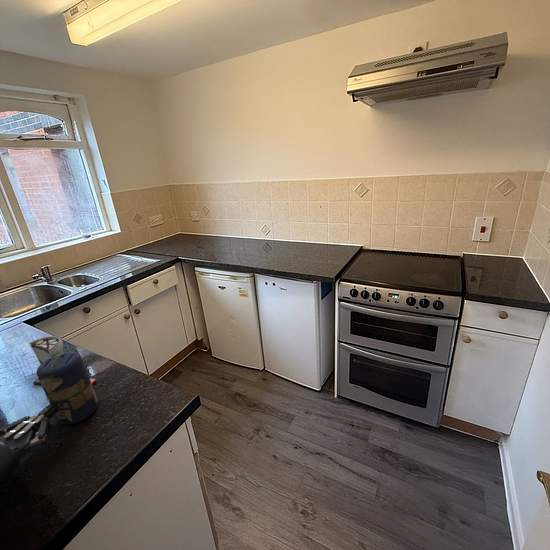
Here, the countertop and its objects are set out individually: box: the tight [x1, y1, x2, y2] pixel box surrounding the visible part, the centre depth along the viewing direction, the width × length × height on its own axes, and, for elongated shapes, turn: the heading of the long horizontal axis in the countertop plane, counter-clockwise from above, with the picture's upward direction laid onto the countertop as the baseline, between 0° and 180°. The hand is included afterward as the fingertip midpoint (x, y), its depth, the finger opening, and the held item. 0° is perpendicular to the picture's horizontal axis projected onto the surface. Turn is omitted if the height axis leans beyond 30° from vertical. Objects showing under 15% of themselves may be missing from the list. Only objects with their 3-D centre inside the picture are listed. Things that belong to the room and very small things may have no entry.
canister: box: [36, 351, 99, 426], centre depth 77 cm, size 10×10×18 cm
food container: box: [29, 336, 65, 365], centre depth 100 cm, size 12×6×10 cm, turn 63°
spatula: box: [32, 378, 97, 386], centre depth 92 cm, size 20×5×1 cm, turn 80°
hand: (55, 405), depth 73 cm, fingers closed
